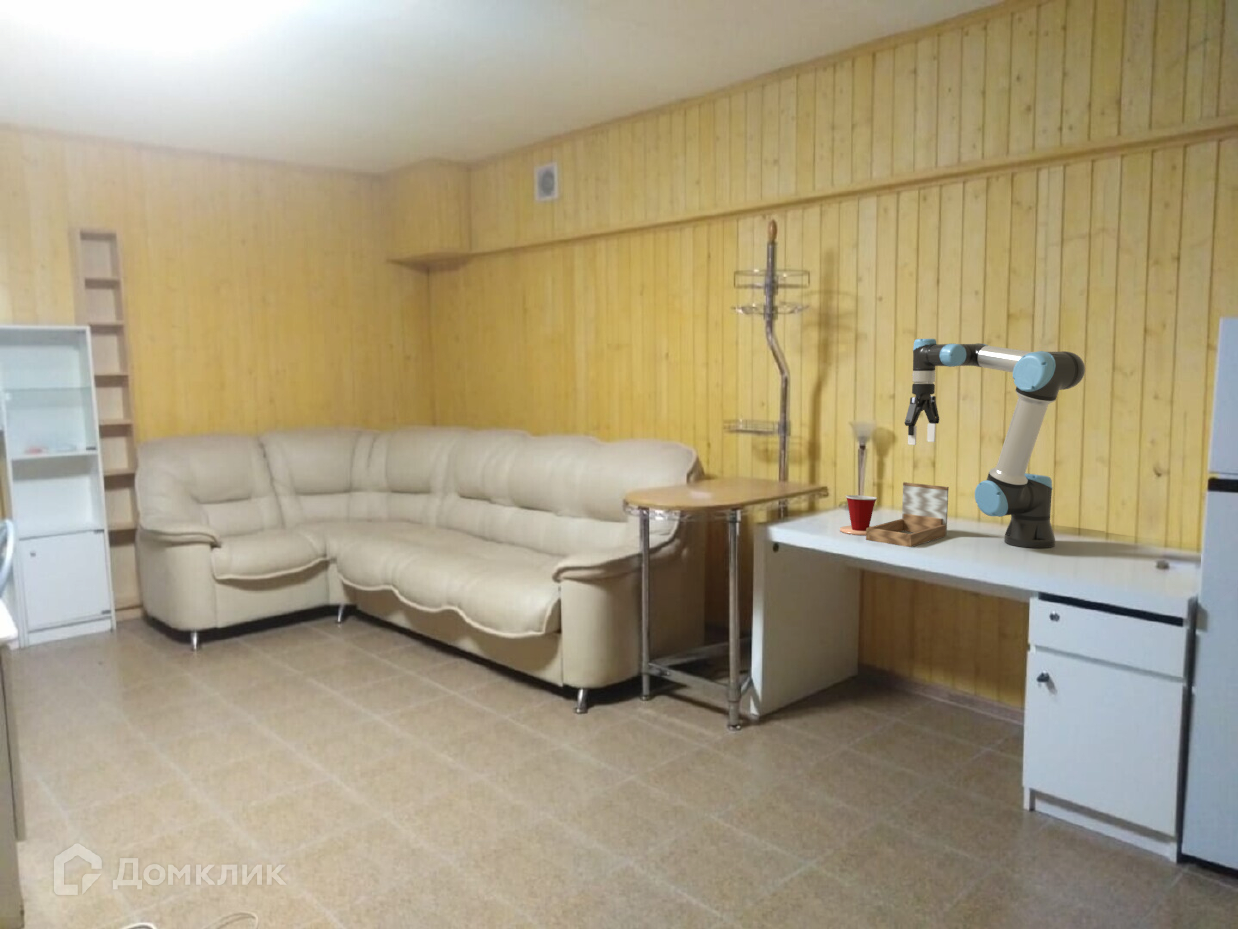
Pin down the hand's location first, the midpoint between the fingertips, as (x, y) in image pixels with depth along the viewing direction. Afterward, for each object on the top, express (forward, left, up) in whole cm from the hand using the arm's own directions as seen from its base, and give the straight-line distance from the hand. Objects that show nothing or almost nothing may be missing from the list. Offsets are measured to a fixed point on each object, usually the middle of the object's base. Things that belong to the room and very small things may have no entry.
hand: (921, 443), depth 312 cm
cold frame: (-5, +18, -31) cm, 36 cm away
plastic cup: (+12, +19, -30) cm, 38 cm away
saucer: (+12, +19, -31) cm, 38 cm away
